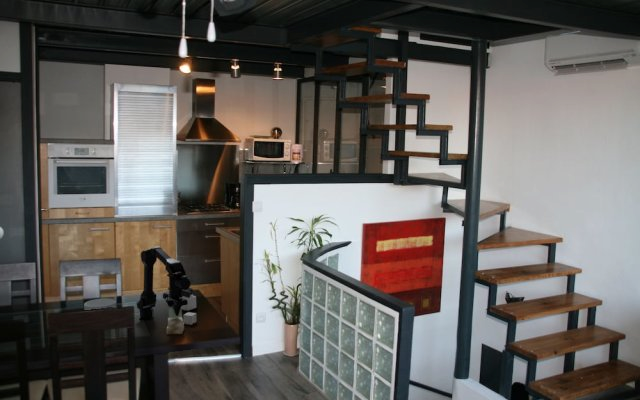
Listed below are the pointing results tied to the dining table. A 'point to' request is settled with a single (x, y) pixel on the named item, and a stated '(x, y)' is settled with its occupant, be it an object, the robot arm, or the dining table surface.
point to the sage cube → (172, 313)
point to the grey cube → (189, 318)
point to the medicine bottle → (190, 301)
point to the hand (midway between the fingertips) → (175, 314)
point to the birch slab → (175, 322)
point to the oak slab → (174, 330)
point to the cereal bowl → (99, 304)
